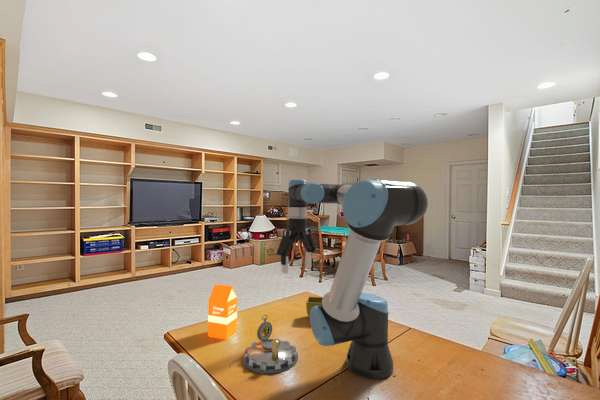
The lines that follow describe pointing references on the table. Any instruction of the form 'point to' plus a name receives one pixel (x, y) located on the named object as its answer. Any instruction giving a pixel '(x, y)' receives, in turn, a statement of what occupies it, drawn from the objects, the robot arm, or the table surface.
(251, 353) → the sprocket
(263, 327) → the pocket watch
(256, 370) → the base plate
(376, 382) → the table surface
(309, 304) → the flower pot
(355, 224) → the robot arm
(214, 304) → the orange juice
